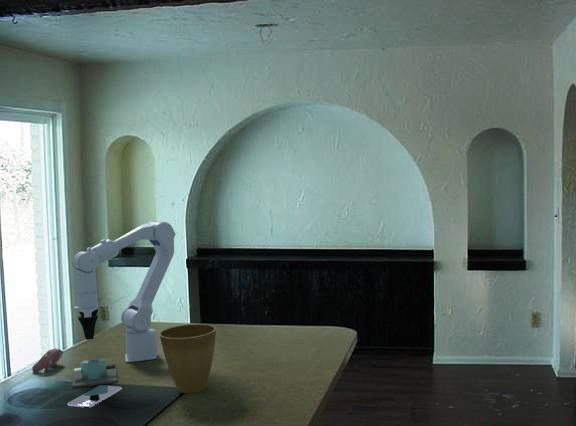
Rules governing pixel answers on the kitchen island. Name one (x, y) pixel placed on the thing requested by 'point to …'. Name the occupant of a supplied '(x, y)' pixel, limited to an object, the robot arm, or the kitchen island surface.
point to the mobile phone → (94, 396)
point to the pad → (109, 378)
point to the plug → (93, 369)
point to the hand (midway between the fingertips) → (89, 336)
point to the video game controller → (48, 360)
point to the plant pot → (189, 355)
